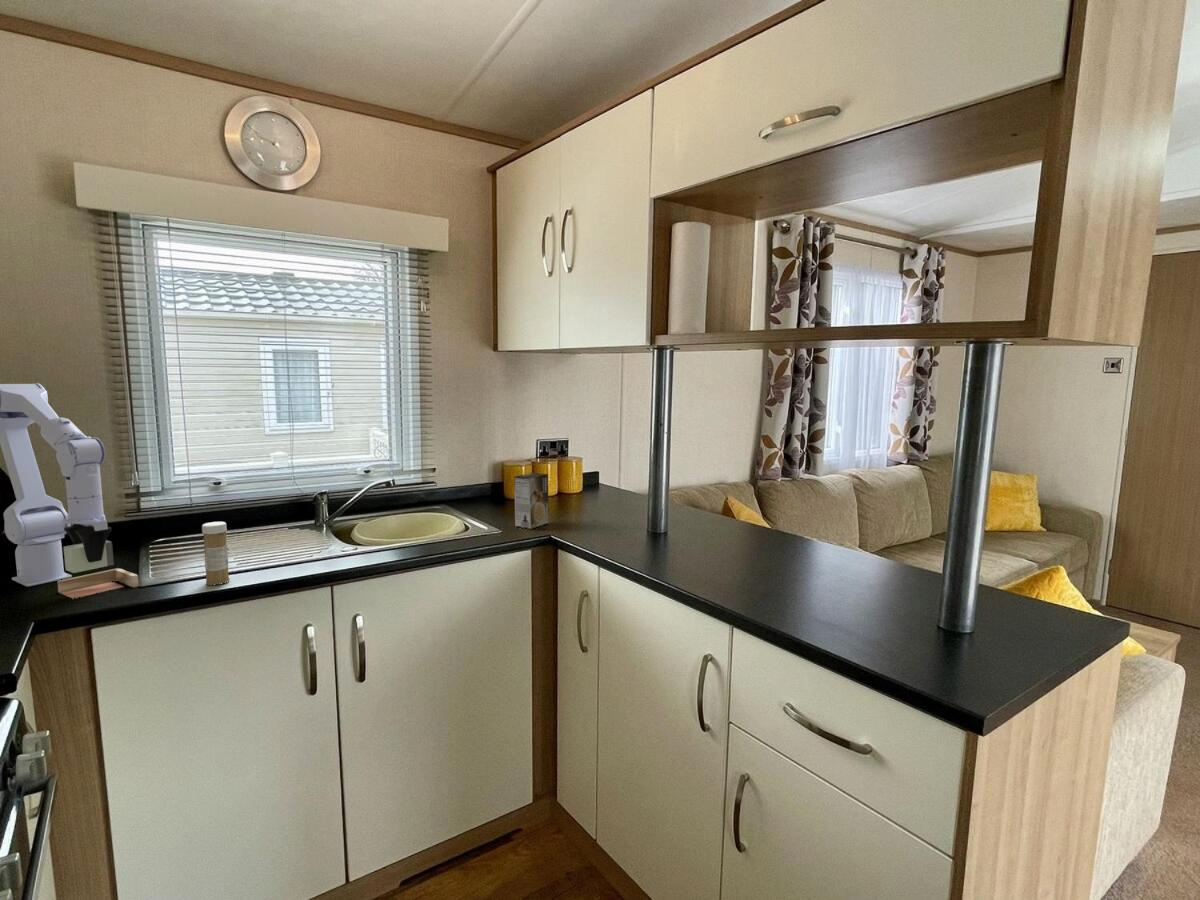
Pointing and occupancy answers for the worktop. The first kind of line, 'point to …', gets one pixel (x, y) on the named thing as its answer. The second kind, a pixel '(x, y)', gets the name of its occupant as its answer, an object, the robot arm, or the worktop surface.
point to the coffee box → (531, 500)
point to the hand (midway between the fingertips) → (90, 559)
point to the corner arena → (96, 583)
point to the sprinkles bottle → (215, 552)
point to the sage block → (78, 559)
